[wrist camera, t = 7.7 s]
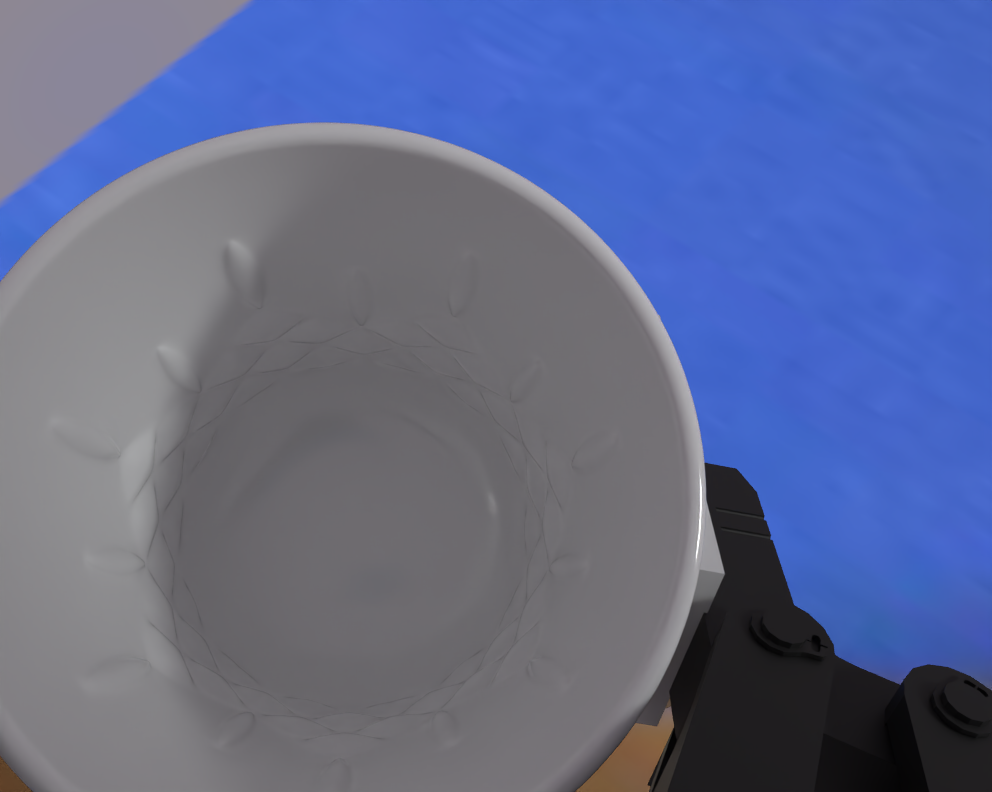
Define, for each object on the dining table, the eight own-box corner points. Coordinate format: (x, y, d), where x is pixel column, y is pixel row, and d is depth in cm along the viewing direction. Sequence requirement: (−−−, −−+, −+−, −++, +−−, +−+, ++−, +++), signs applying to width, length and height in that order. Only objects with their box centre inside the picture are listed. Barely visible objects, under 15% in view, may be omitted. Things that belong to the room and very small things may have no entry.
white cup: (88, 503, 18) (-249, 398, 9) (399, 286, 20) (408, -3, 10) (319, 824, 18) (231, 1102, 8) (622, 570, 19) (855, 542, 10)
